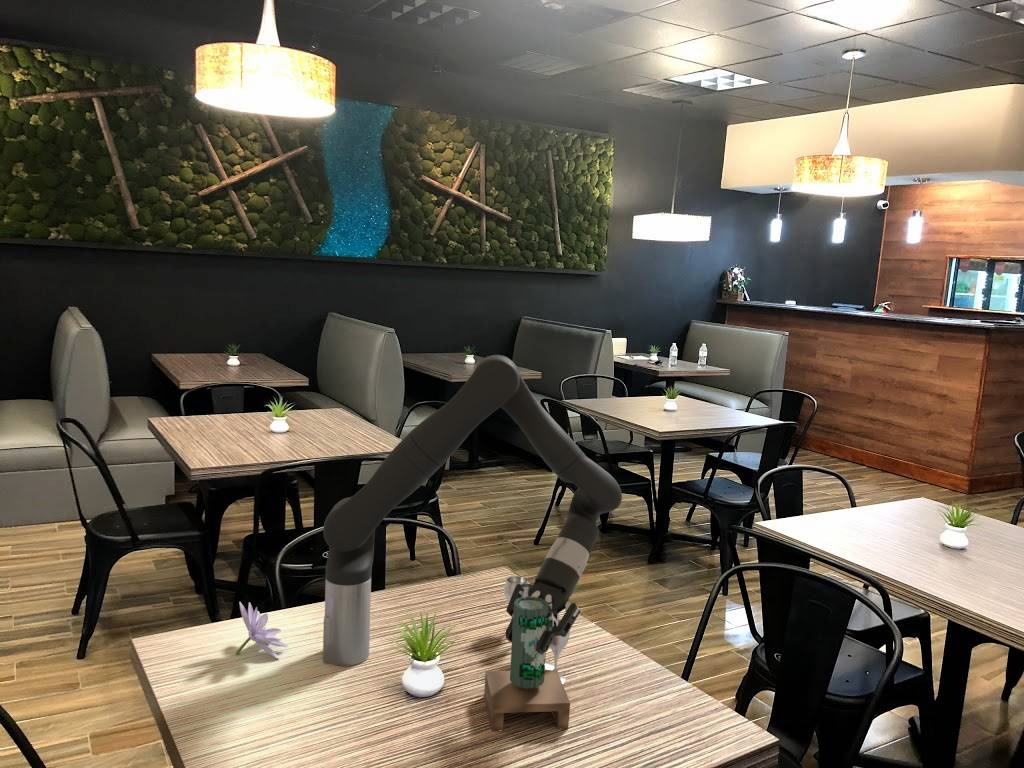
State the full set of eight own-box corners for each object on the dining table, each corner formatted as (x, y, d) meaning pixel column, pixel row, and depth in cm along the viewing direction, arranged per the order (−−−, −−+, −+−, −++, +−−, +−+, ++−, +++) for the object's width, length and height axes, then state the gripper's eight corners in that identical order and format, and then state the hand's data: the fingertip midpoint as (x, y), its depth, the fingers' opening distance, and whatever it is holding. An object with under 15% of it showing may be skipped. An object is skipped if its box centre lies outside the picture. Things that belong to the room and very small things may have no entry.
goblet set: (572, 683, 161) (576, 621, 159) (546, 687, 159) (550, 624, 157) (521, 623, 187) (524, 569, 185) (497, 626, 185) (500, 571, 183)
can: (528, 692, 145) (532, 613, 143) (503, 679, 149) (507, 602, 147) (549, 680, 149) (554, 604, 147) (525, 668, 153) (529, 593, 151)
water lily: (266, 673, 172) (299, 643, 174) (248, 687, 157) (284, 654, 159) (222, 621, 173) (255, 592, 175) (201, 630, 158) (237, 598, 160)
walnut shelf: (491, 731, 143) (493, 705, 142) (484, 695, 155) (485, 671, 154) (568, 728, 145) (570, 702, 144) (555, 693, 157) (556, 669, 156)
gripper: (525, 547, 156) (484, 625, 148) (588, 567, 148) (549, 650, 140) (539, 566, 161) (500, 642, 153) (601, 586, 153) (563, 667, 145)
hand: (523, 645), depth 147 cm, fingers closed on can, 6 cm apart
